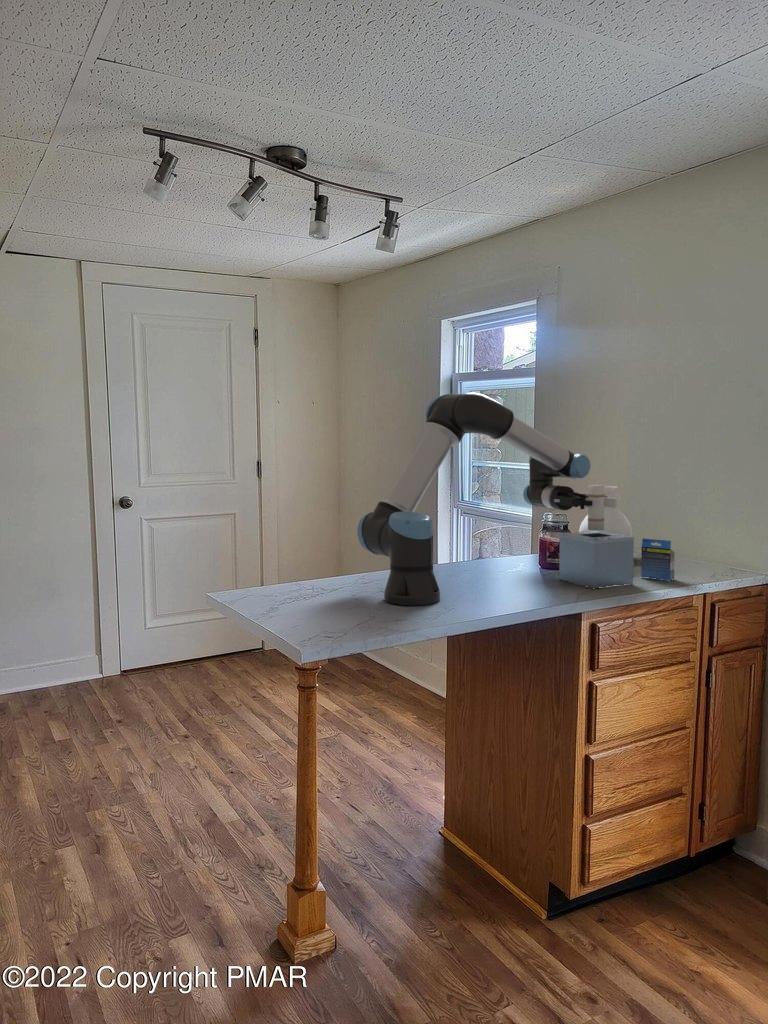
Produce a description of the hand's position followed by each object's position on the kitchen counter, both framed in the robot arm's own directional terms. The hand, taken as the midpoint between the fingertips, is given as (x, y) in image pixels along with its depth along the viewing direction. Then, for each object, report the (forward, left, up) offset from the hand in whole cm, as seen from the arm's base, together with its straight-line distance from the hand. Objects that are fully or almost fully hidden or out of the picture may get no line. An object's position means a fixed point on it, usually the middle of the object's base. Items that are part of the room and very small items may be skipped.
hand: (608, 503), depth 211 cm
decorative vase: (+30, +37, -24) cm, 54 cm away
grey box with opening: (0, +5, -24) cm, 24 cm away
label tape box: (+19, 0, -24) cm, 31 cm away
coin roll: (0, +5, -8) cm, 10 cm away
